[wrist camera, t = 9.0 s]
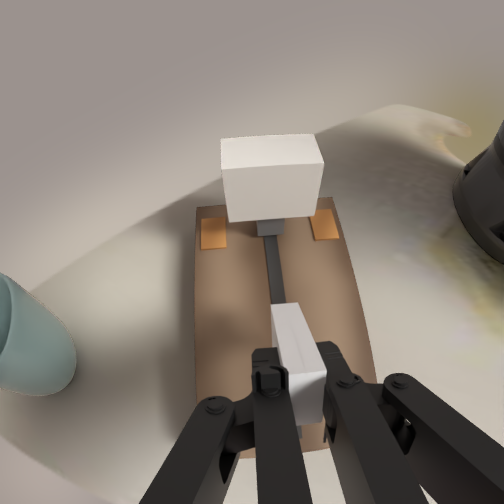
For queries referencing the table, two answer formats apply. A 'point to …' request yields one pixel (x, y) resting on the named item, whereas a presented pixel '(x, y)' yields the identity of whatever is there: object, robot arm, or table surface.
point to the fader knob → (271, 179)
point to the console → (272, 299)
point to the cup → (32, 344)
